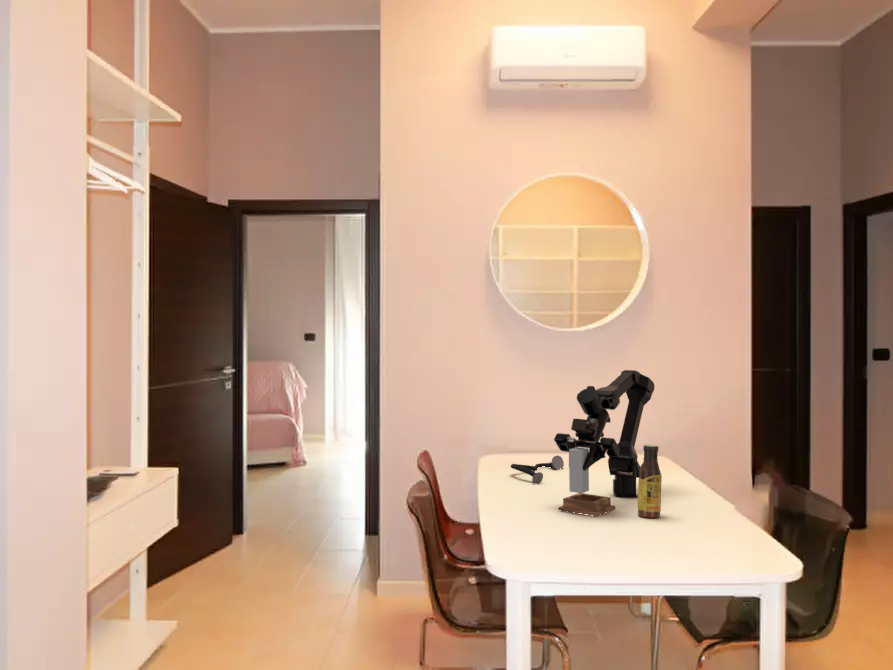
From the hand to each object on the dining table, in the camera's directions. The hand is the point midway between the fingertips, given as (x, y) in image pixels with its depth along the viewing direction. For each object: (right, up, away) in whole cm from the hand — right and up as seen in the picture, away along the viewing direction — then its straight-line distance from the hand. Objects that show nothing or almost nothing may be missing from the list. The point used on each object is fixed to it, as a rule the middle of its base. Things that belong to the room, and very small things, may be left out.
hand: (576, 468), depth 220 cm
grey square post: (+1, -7, +1) cm, 7 cm away
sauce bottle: (+20, -13, -2) cm, 24 cm away
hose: (-3, -13, +59) cm, 60 cm away
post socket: (+4, -13, +5) cm, 14 cm away
